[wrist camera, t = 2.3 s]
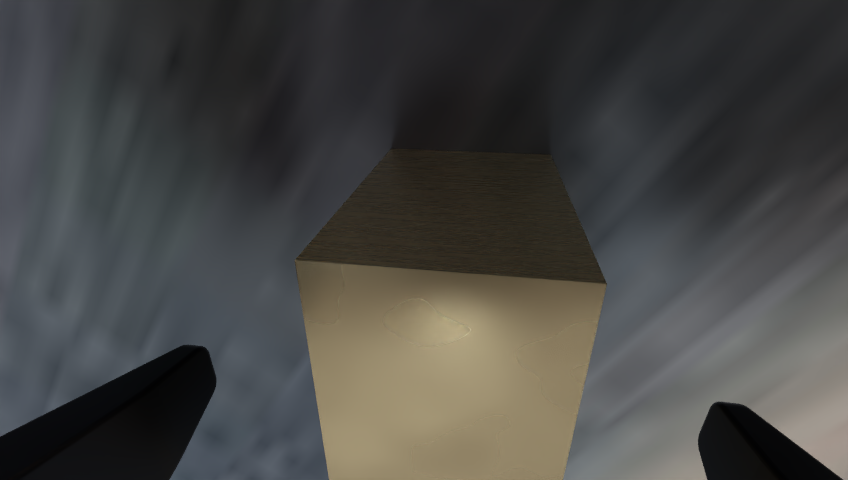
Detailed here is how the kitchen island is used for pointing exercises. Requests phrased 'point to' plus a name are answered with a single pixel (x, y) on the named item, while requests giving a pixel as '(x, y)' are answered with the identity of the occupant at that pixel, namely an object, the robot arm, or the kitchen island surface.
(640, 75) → the kitchen island surface
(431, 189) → the wood-topped khaki block
